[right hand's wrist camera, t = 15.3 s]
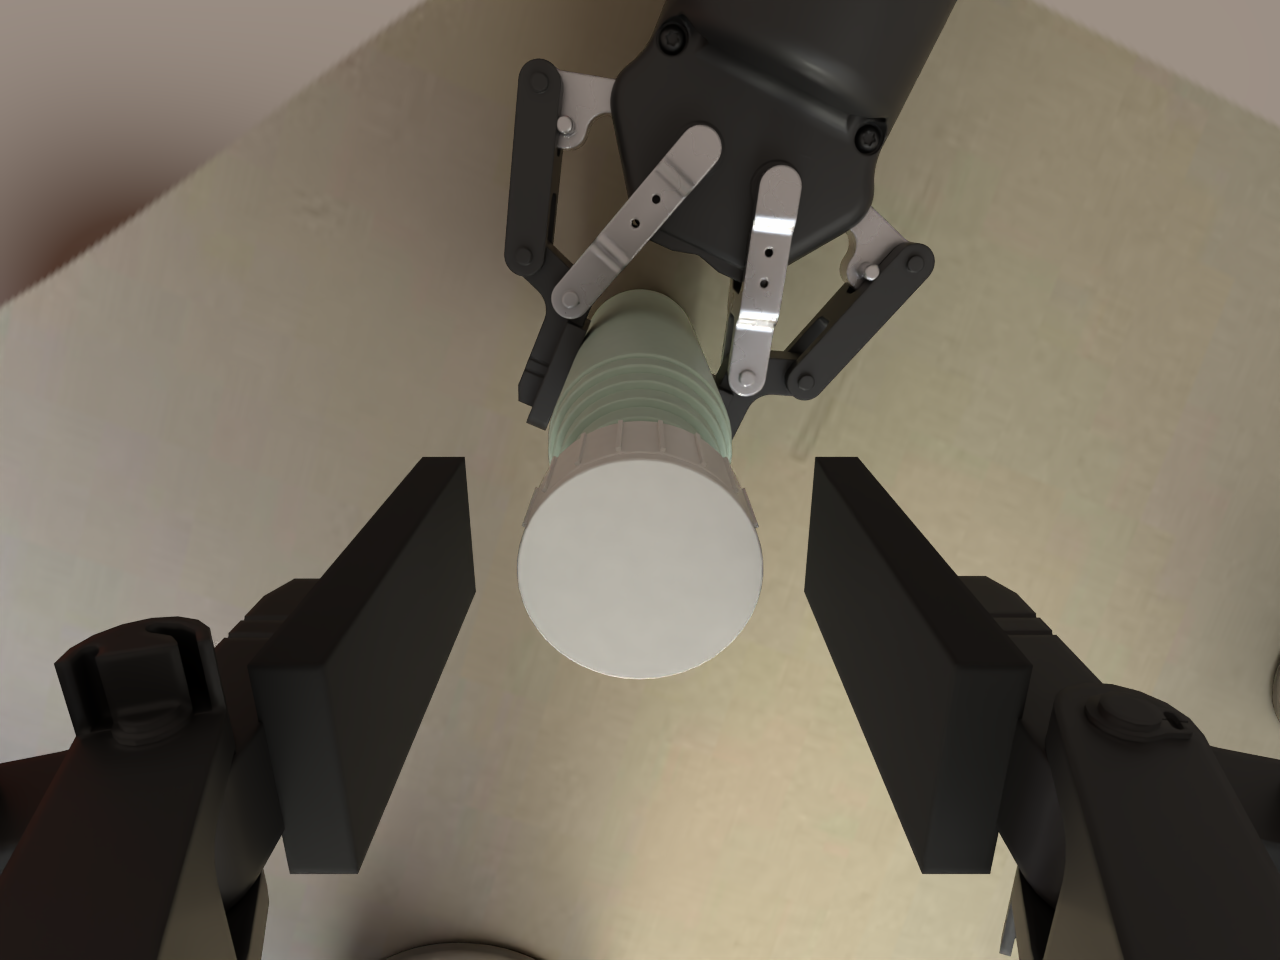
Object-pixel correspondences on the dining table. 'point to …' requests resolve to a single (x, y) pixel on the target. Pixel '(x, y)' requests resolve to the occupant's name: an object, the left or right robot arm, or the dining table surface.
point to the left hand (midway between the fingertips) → (608, 447)
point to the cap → (640, 552)
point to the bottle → (640, 375)
